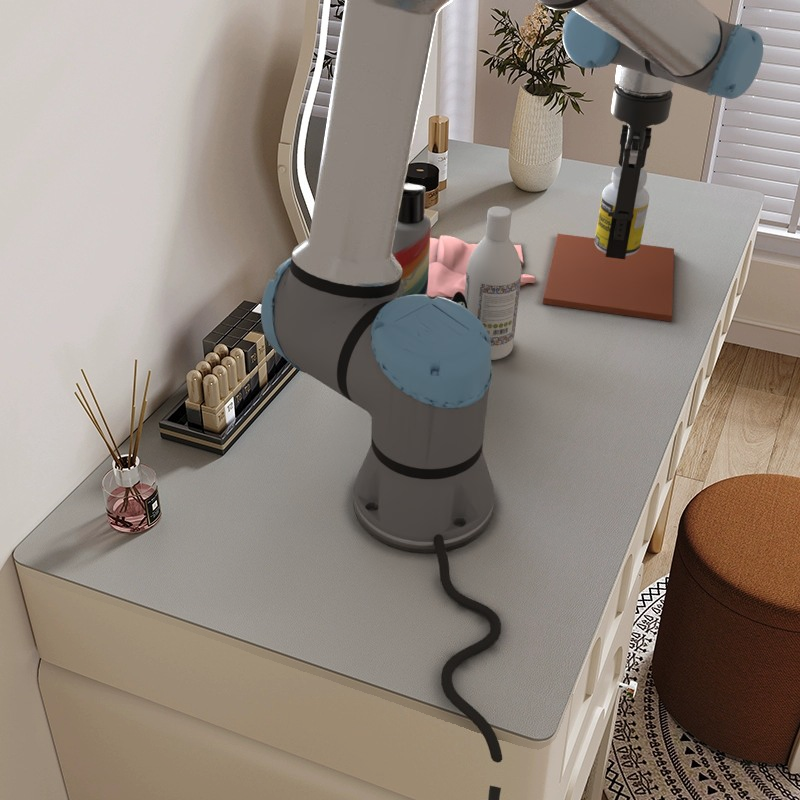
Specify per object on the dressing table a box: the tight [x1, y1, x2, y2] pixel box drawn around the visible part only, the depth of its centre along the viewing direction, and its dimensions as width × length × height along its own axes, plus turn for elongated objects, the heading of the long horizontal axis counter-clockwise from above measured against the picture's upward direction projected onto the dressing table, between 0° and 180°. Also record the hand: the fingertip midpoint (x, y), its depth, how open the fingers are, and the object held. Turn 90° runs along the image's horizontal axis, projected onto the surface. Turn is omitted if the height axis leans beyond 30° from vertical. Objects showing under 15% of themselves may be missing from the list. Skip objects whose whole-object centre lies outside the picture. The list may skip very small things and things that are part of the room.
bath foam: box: [464, 205, 523, 361], centre depth 131 cm, size 7×7×20 cm
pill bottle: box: [594, 165, 650, 256], centre depth 144 cm, size 6×6×12 cm
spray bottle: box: [392, 182, 432, 298], centre depth 136 cm, size 6×6×20 cm
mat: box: [542, 233, 675, 323], centre depth 152 cm, size 20×18×1 cm
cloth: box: [427, 235, 536, 299], centre depth 153 cm, size 20×22×2 cm
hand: (616, 244), depth 147 cm, fingers closed on pill bottle, 6 cm apart
